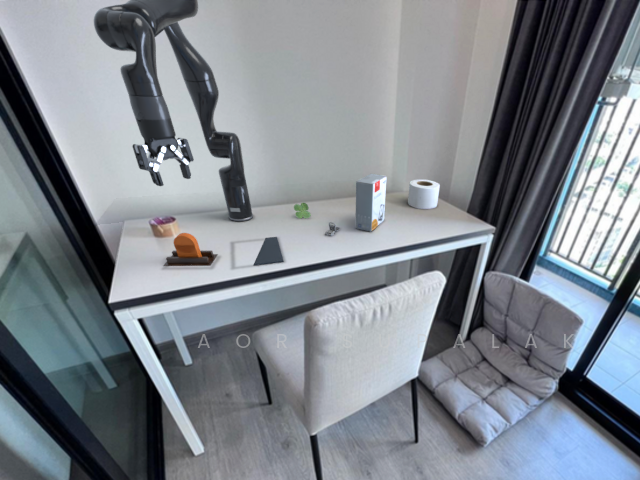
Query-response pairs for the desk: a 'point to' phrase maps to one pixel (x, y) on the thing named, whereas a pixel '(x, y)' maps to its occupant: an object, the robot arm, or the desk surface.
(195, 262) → the holder
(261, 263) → the felt mat
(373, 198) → the hard drive box
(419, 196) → the white paper roll
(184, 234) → the orange curved block
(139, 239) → the desk surface
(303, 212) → the green clover
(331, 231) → the strap clip
